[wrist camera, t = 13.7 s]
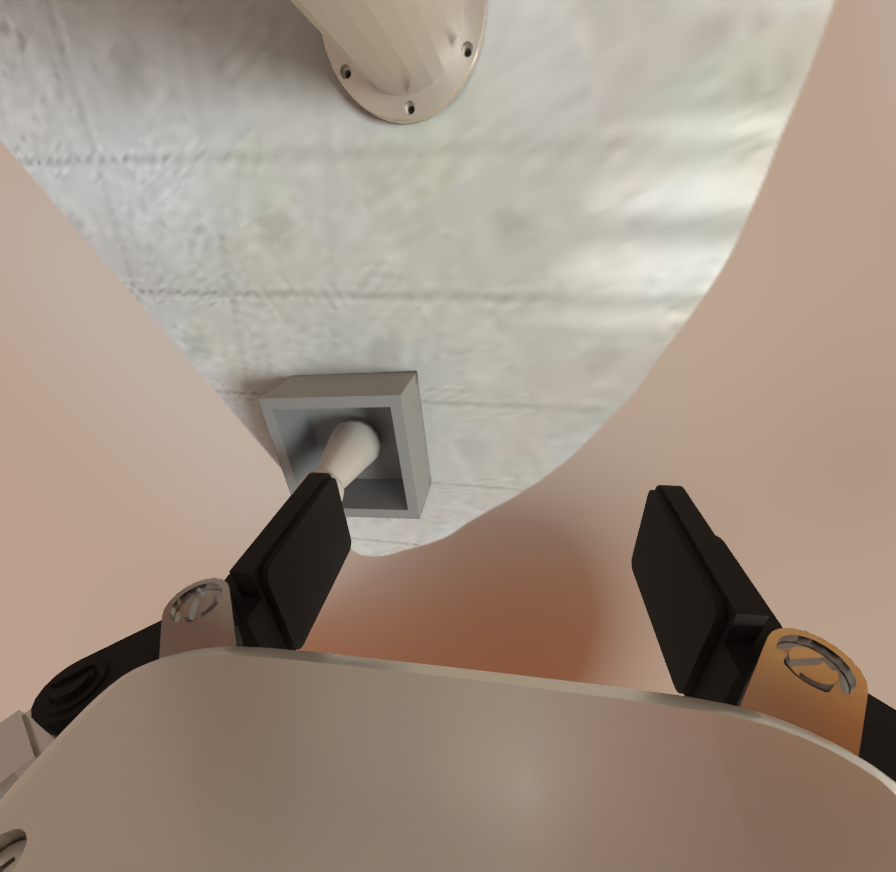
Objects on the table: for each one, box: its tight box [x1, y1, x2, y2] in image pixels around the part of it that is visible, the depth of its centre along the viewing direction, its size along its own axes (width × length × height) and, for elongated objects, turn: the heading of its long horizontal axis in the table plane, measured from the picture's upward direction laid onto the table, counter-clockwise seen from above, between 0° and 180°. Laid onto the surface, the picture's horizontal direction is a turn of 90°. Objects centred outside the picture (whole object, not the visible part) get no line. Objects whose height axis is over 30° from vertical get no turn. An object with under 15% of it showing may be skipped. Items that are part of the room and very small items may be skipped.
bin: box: [258, 371, 431, 519], centre depth 43 cm, size 15×15×7 cm
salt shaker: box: [295, 420, 381, 501], centre depth 39 cm, size 6×6×13 cm
